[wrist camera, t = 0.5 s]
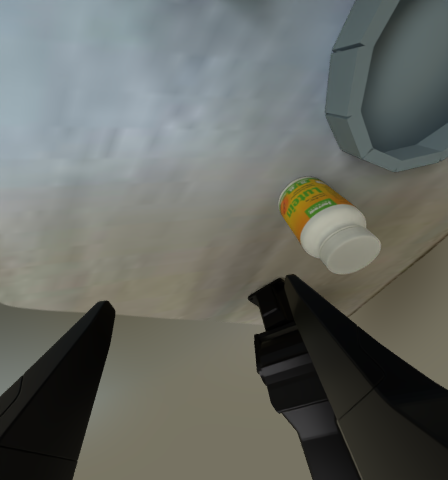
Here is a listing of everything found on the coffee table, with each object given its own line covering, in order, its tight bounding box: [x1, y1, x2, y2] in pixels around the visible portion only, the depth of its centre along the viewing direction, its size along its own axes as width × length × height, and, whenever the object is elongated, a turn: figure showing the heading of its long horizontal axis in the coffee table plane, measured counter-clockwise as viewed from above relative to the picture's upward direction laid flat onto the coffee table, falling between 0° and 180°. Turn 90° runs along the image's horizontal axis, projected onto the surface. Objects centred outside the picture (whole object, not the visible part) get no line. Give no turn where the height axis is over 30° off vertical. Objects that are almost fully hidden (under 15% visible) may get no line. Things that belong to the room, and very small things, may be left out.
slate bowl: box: [325, 0, 448, 172], centre depth 14 cm, size 15×15×3 cm
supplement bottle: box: [278, 177, 381, 274], centre depth 18 cm, size 5×5×10 cm
